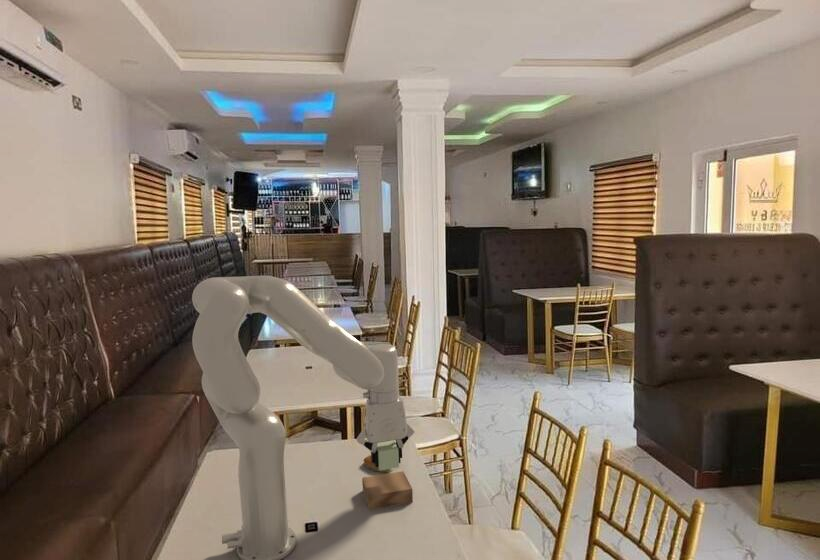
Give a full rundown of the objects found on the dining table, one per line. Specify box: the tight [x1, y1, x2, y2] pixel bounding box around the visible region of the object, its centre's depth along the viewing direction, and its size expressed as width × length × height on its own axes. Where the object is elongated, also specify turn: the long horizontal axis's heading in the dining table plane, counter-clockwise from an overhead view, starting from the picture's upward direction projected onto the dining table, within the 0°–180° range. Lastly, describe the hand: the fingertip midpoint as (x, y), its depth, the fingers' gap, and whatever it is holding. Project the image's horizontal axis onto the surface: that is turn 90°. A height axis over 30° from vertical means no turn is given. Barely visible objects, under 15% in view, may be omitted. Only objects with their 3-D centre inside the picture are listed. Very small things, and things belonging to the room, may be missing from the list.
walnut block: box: [361, 470, 414, 511], centre depth 137 cm, size 11×9×4 cm
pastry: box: [363, 454, 395, 474], centre depth 153 cm, size 9×7×4 cm
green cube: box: [377, 440, 400, 470], centre depth 136 cm, size 5×5×5 cm
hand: (386, 462), depth 136 cm, fingers closed on green cube, 5 cm apart
